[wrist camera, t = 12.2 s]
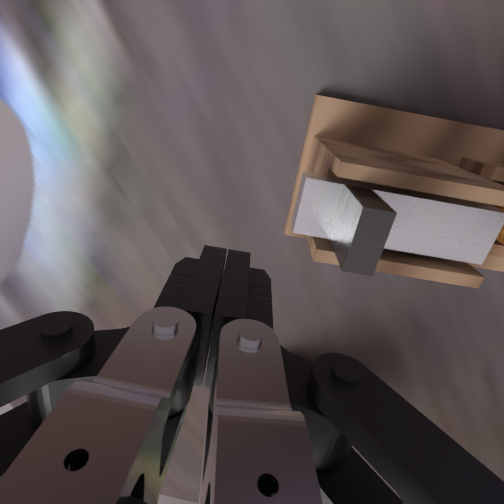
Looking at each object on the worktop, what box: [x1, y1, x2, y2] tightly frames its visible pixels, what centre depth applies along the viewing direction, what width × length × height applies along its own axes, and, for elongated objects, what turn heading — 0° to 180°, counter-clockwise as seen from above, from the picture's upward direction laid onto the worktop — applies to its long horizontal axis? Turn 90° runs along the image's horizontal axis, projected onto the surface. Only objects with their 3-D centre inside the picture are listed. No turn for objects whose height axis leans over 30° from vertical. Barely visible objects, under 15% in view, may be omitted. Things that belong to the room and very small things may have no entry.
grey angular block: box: [291, 172, 504, 276], centre depth 19 cm, size 12×3×6 cm, turn 80°
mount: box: [284, 95, 504, 288], centre depth 25 cm, size 22×12×12 cm, turn 80°
